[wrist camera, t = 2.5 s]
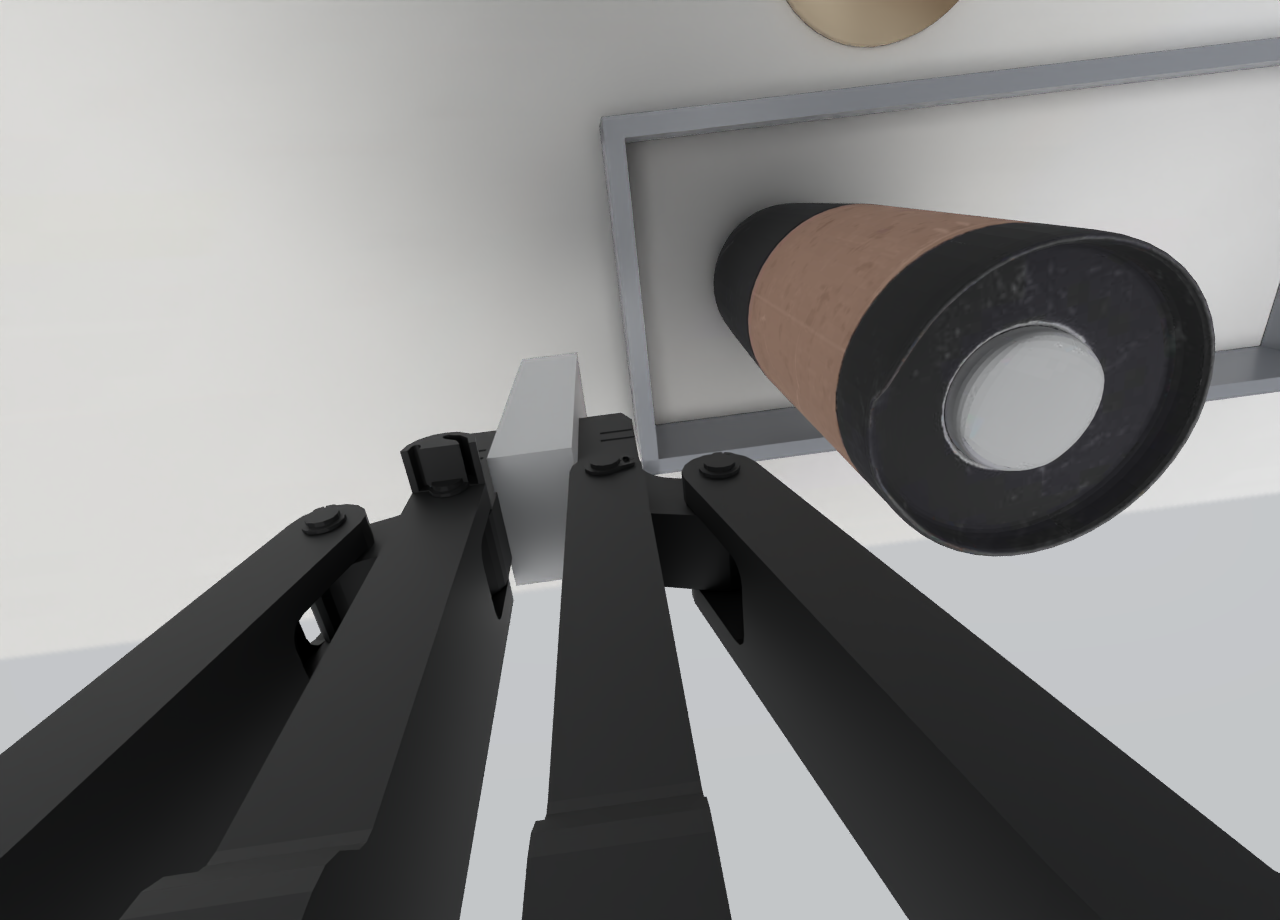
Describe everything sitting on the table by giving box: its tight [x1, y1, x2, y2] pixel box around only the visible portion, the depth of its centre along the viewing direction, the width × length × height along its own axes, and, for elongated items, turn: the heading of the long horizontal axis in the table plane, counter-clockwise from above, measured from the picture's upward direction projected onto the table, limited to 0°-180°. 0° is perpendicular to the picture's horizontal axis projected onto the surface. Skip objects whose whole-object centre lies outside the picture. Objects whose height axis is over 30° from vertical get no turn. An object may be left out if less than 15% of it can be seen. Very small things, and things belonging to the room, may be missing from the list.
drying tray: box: [600, 37, 1280, 475], centre depth 30 cm, size 37×16×4 cm, turn 96°
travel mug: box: [714, 203, 1215, 556], centre depth 22 cm, size 8×8×20 cm
